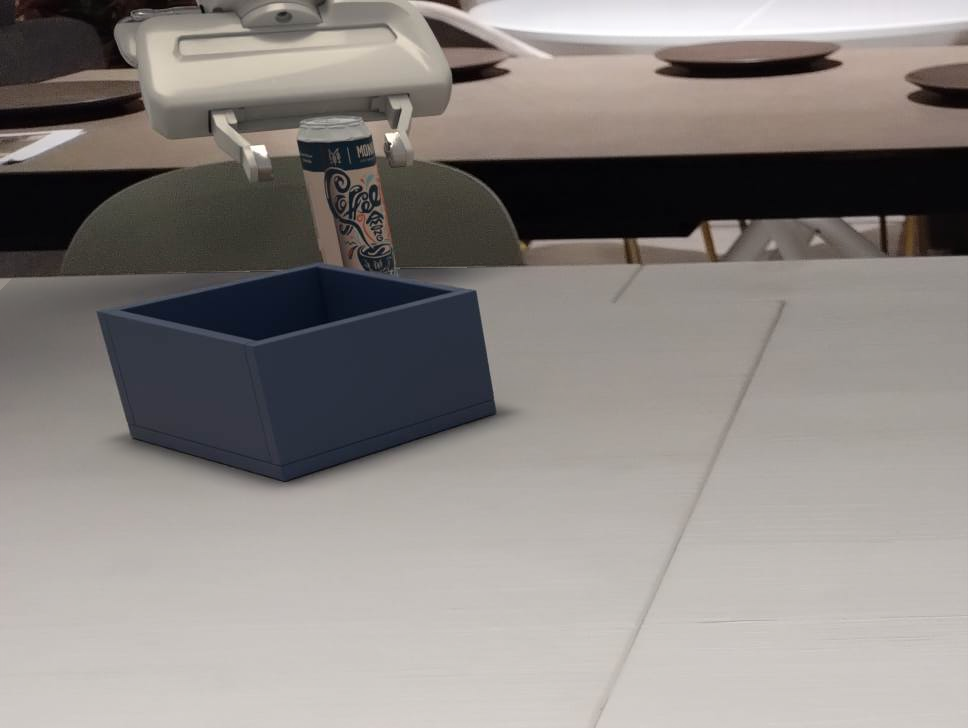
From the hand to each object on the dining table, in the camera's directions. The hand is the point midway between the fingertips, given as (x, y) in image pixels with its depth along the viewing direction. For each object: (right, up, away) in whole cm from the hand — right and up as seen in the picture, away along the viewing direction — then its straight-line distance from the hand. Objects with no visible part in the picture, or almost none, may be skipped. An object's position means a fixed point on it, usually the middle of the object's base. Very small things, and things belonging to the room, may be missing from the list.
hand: (334, 169), depth 115 cm
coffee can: (+1, -8, +3) cm, 9 cm away
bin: (+8, -22, -23) cm, 33 cm away
